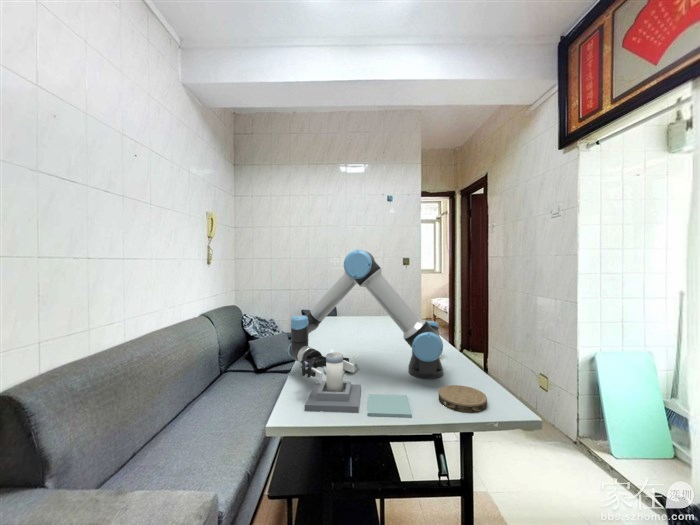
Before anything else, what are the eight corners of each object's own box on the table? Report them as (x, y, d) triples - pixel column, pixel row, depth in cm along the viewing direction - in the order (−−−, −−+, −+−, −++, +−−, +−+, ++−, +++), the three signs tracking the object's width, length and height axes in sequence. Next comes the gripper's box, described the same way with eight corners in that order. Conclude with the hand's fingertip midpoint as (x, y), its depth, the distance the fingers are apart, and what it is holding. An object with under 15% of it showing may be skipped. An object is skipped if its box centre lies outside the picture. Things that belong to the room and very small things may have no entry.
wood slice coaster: (495, 414, 96) (495, 404, 96) (446, 414, 97) (446, 404, 97) (475, 393, 112) (475, 385, 112) (433, 393, 113) (433, 385, 113)
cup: (344, 390, 110) (343, 352, 110) (342, 398, 104) (342, 357, 104) (327, 390, 111) (327, 352, 111) (324, 397, 104) (324, 357, 105)
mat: (406, 397, 108) (406, 395, 108) (411, 417, 94) (411, 414, 94) (368, 396, 109) (368, 394, 109) (367, 416, 95) (367, 412, 95)
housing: (361, 389, 116) (360, 378, 116) (358, 412, 98) (358, 398, 98) (315, 388, 117) (315, 377, 117) (304, 411, 99) (304, 397, 99)
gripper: (335, 360, 130) (365, 375, 112) (281, 373, 116) (306, 392, 98) (335, 343, 130) (365, 355, 113) (281, 354, 116) (306, 369, 98)
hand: (338, 372), depth 105 cm, fingers open, 13 cm apart
